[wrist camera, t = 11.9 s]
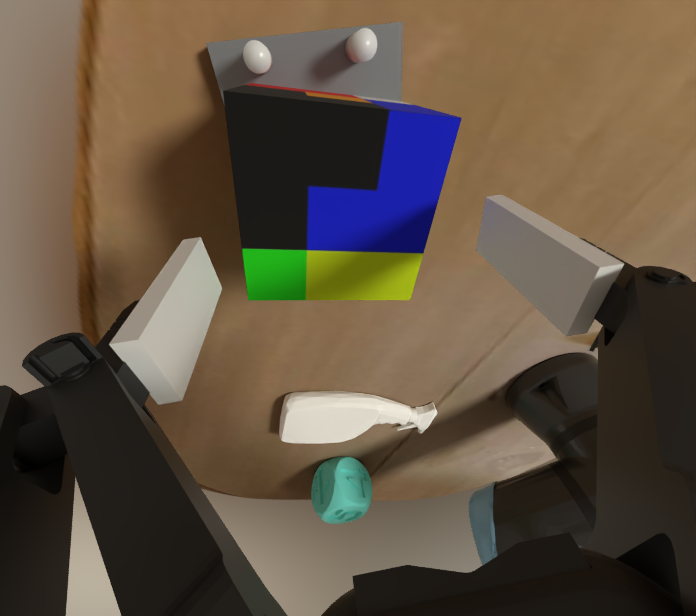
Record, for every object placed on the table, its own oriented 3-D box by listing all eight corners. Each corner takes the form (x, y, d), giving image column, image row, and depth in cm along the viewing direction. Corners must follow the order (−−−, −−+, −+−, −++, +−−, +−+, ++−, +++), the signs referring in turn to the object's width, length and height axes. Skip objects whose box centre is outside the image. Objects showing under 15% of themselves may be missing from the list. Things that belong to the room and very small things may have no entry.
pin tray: (395, 246, 30) (407, 268, 26) (273, 265, 29) (270, 289, 26) (397, 24, 19) (418, 14, 16) (210, 44, 19) (193, 38, 16)
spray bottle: (285, 385, 41) (443, 389, 47) (277, 429, 47) (417, 427, 54) (285, 403, 38) (451, 405, 45) (276, 447, 45) (423, 443, 51)
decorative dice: (332, 453, 53) (337, 503, 47) (367, 459, 57) (377, 507, 51) (309, 473, 57) (311, 522, 51) (344, 478, 60) (350, 525, 54)
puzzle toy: (399, 100, 21) (461, 117, 13) (376, 234, 27) (410, 299, 19) (250, 83, 19) (222, 90, 12) (261, 230, 25) (248, 300, 18)
